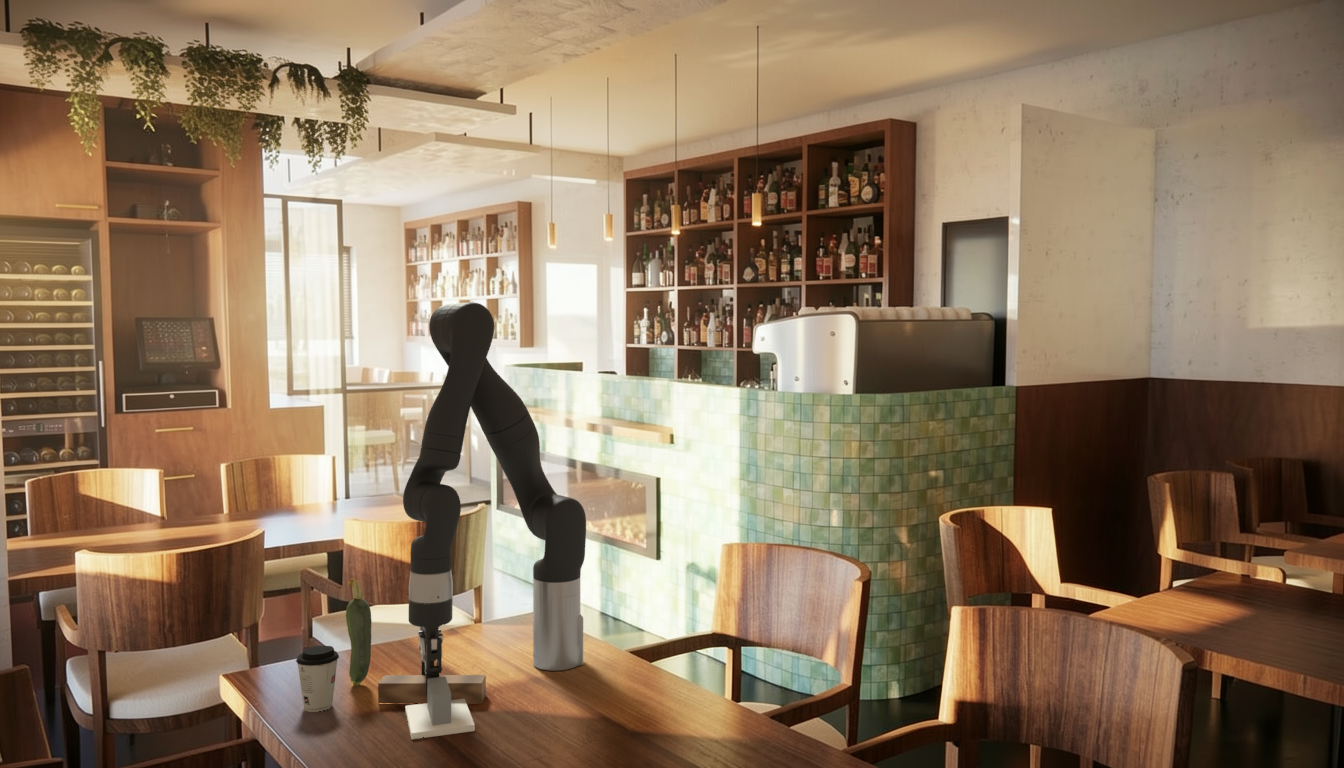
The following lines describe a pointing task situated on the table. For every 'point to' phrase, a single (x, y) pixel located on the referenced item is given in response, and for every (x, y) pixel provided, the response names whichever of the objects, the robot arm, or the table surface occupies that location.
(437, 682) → the fulcrum
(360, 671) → the vegetable
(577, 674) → the table surface
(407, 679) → the beam
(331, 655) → the coffee cup
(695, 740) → the table surface
